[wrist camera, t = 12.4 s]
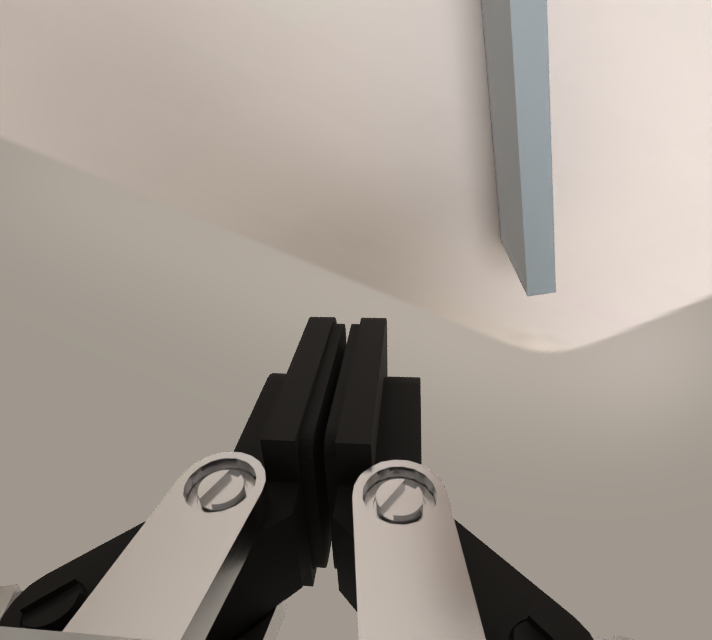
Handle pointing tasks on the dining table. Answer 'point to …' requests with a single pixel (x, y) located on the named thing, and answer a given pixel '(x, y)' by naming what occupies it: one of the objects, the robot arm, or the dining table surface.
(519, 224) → the bin gate
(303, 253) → the dining table surface
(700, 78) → the dining table surface
